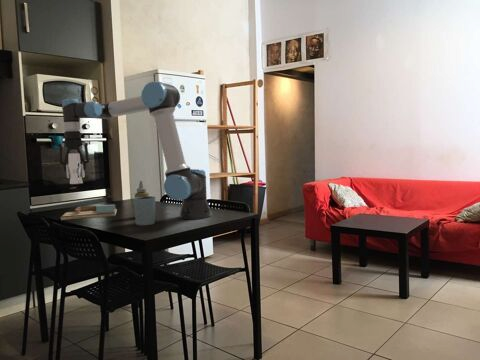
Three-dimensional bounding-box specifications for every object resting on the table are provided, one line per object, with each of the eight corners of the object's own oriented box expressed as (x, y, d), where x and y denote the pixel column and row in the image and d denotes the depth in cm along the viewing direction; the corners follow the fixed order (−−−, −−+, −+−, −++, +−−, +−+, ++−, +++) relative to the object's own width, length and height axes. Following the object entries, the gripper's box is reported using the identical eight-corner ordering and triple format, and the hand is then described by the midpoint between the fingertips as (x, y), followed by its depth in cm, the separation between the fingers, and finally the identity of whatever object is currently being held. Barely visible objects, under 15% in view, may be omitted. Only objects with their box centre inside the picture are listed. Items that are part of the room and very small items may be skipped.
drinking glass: (134, 226, 188) (133, 199, 186) (133, 222, 197) (132, 196, 196) (157, 224, 190) (156, 197, 189) (155, 220, 200) (154, 195, 199)
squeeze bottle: (147, 218, 206) (145, 181, 205) (131, 218, 208) (129, 182, 206) (153, 215, 214) (151, 180, 213) (139, 215, 216) (137, 180, 214)
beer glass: (86, 182, 213) (84, 152, 212) (78, 184, 207) (76, 153, 205) (74, 182, 215) (72, 153, 214) (65, 184, 208) (63, 153, 207)
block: (114, 212, 218) (114, 205, 218) (96, 214, 216) (96, 206, 216) (115, 212, 220) (114, 204, 220) (97, 213, 218) (96, 205, 217)
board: (114, 216, 217) (114, 208, 216) (60, 220, 211) (60, 212, 210) (116, 211, 233) (116, 204, 233) (66, 214, 227) (66, 207, 227)
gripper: (93, 130, 215) (96, 175, 217) (52, 131, 210) (56, 178, 212) (92, 130, 207) (95, 176, 209) (49, 131, 202) (53, 179, 205)
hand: (75, 177), depth 211 cm, fingers closed on beer glass, 6 cm apart
